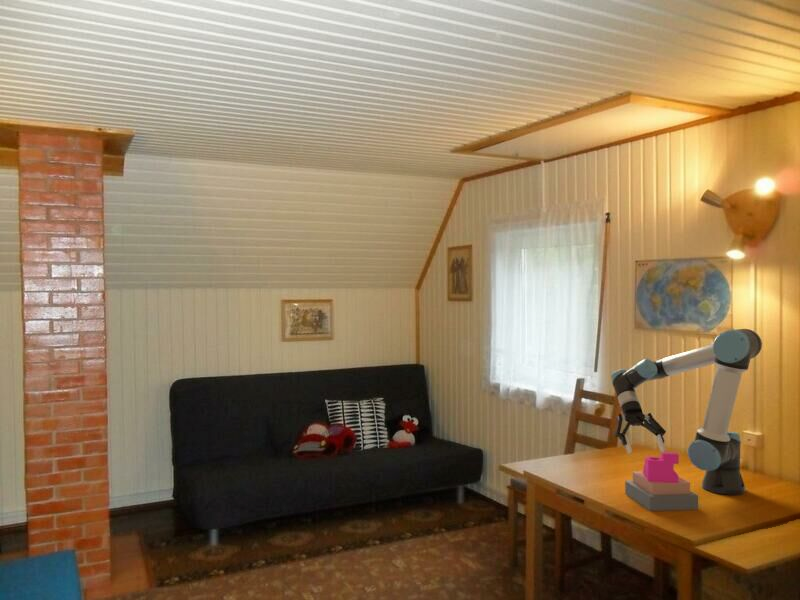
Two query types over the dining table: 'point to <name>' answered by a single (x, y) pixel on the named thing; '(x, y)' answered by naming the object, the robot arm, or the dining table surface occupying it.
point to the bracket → (661, 468)
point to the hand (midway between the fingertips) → (646, 451)
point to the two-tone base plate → (661, 494)
